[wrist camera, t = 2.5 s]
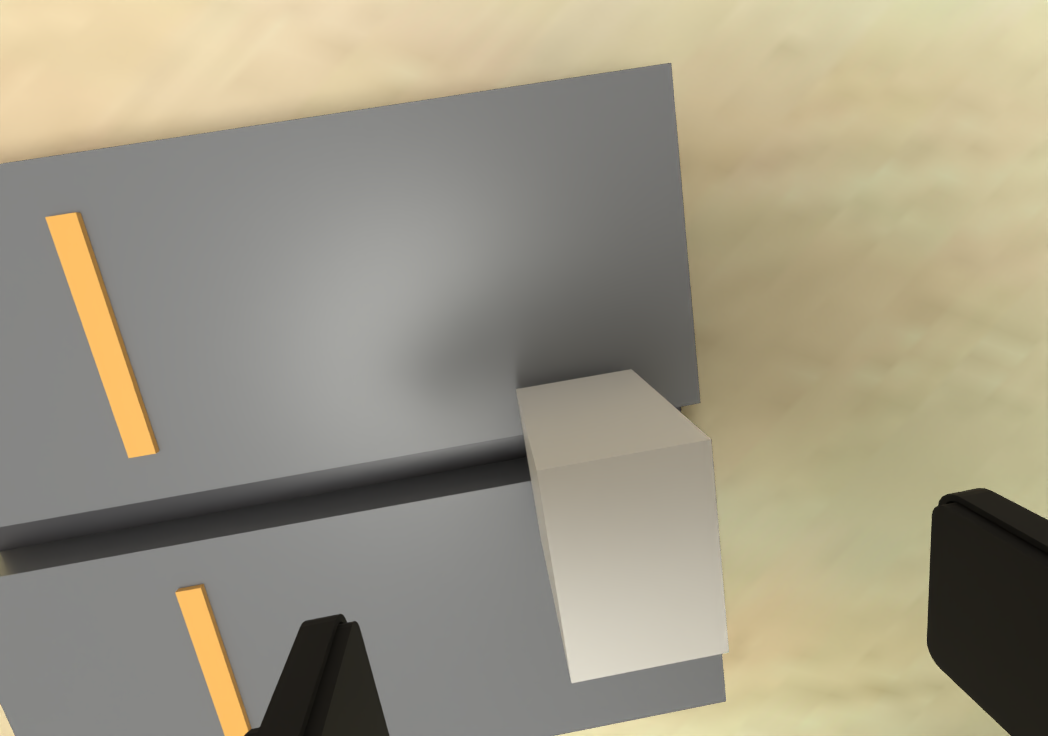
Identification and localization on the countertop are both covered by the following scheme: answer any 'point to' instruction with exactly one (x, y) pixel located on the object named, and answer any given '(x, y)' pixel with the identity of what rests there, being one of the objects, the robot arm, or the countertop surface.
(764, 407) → the countertop surface
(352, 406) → the fader console
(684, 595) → the cap
